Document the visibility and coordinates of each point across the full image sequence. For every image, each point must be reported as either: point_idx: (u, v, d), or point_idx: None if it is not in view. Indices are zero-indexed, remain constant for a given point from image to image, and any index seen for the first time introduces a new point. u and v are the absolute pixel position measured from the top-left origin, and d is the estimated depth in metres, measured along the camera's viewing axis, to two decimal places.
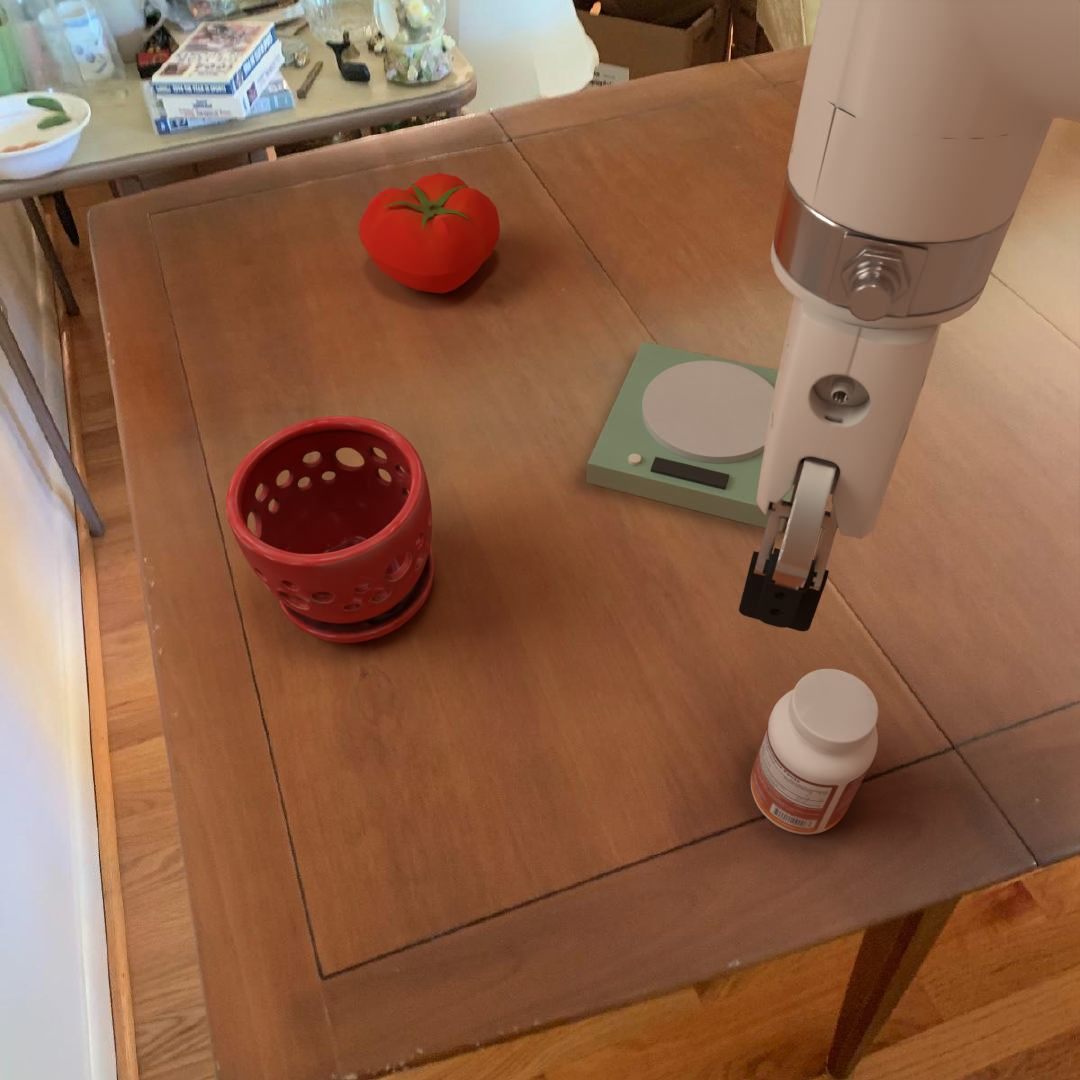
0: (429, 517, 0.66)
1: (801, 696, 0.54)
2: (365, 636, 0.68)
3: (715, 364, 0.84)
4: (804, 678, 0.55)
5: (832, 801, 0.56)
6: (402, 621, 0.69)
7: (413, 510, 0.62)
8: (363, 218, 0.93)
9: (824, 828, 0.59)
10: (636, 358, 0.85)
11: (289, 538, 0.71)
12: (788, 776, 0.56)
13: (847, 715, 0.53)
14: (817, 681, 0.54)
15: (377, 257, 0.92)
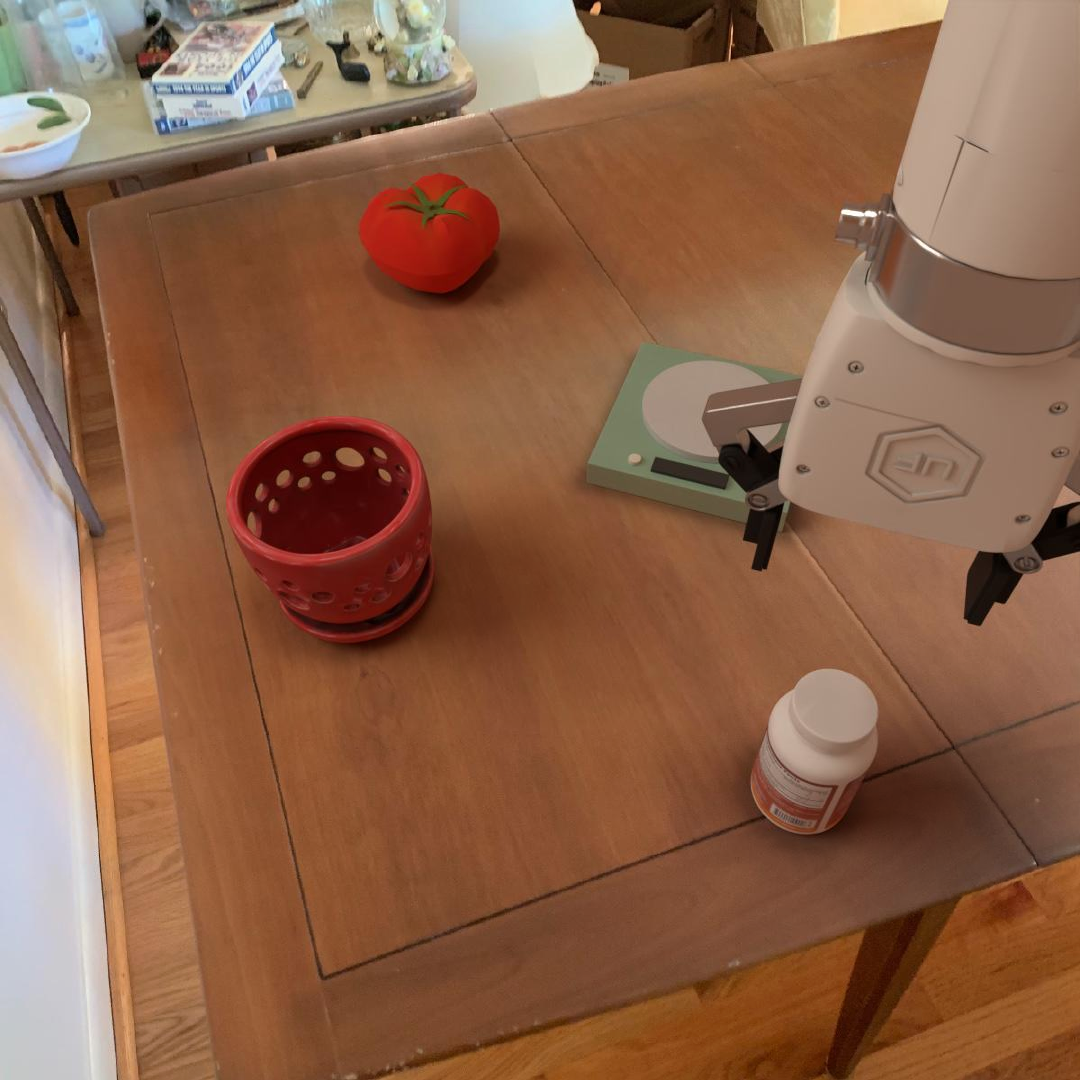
0: (429, 517, 0.66)
1: (801, 696, 0.54)
2: (365, 636, 0.68)
3: (715, 364, 0.84)
4: (804, 678, 0.55)
5: (832, 801, 0.56)
6: (402, 621, 0.69)
7: (413, 510, 0.62)
8: (363, 218, 0.93)
9: (824, 828, 0.59)
10: (636, 358, 0.85)
11: (289, 538, 0.71)
12: (788, 776, 0.56)
13: (847, 715, 0.53)
14: (817, 681, 0.54)
15: (377, 257, 0.92)
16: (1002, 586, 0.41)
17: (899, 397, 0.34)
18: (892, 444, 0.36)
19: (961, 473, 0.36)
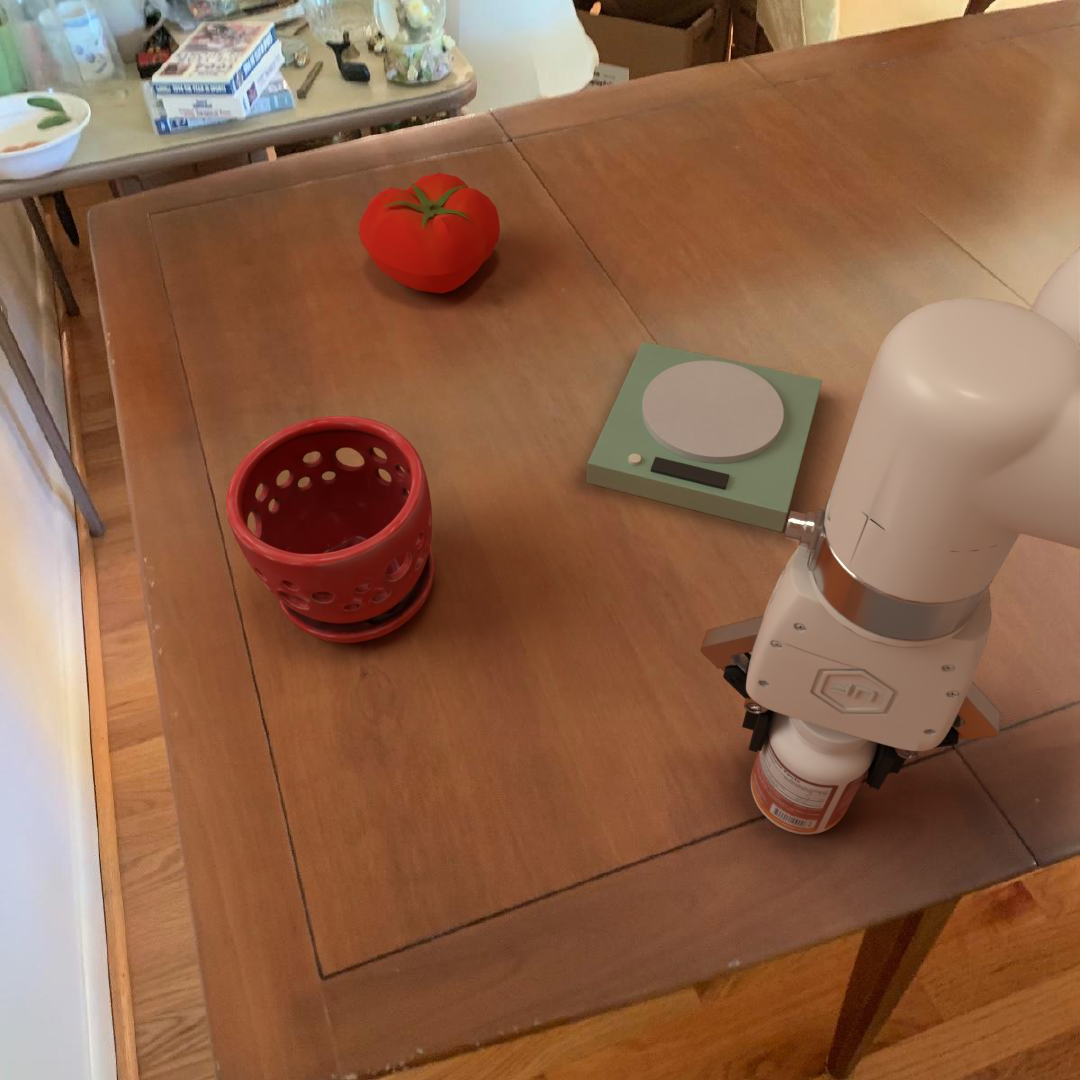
0: (429, 517, 0.66)
1: None
2: (365, 636, 0.68)
3: (715, 364, 0.84)
4: None
5: (832, 801, 0.56)
6: (402, 621, 0.69)
7: (413, 510, 0.62)
8: (363, 218, 0.93)
9: (824, 828, 0.59)
10: (636, 358, 0.85)
11: (289, 538, 0.71)
12: (788, 776, 0.56)
13: None
14: None
15: (377, 257, 0.92)
16: (891, 766, 0.53)
17: (832, 649, 0.46)
18: (829, 676, 0.47)
19: (881, 699, 0.47)
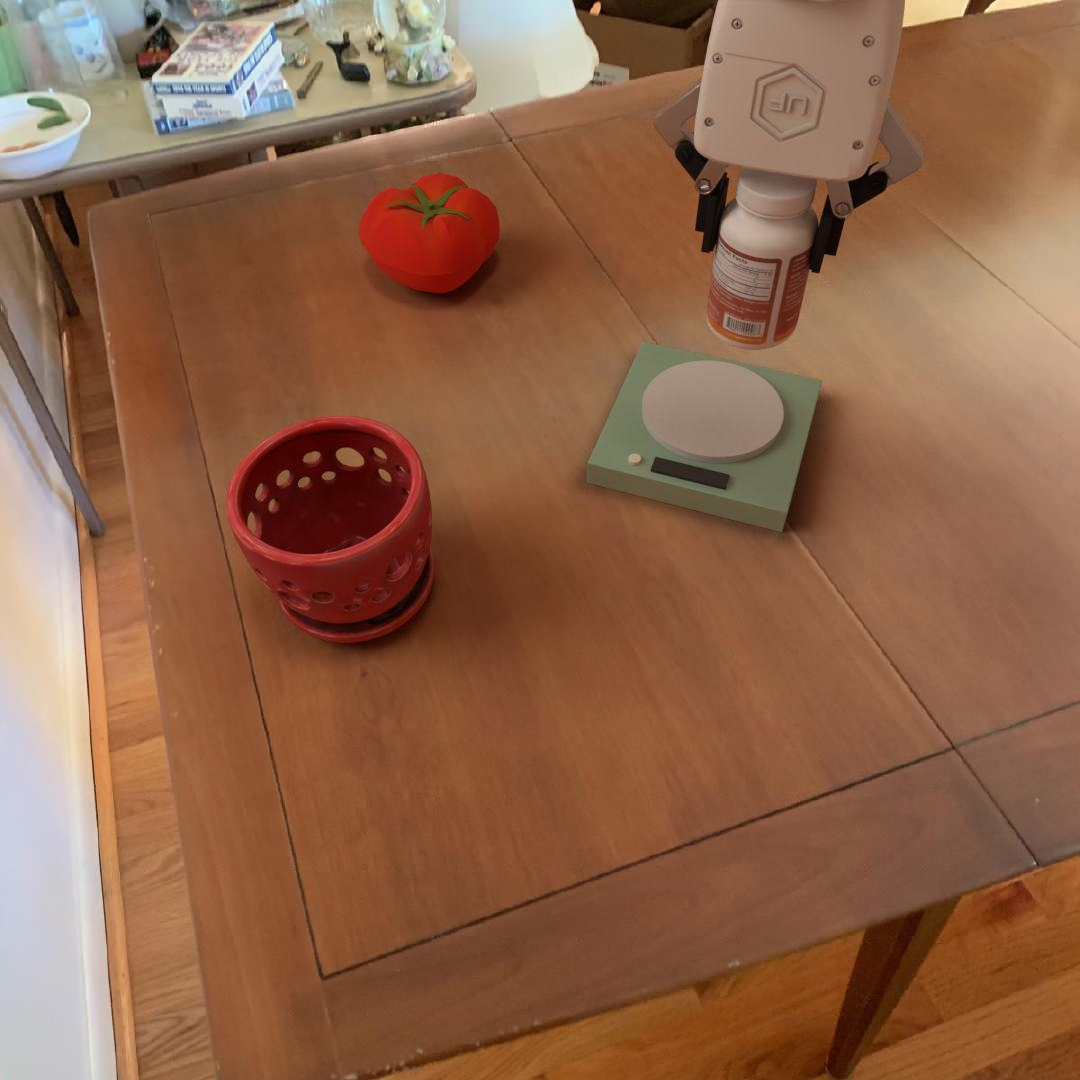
0: (429, 517, 0.66)
1: (747, 173, 0.59)
2: (365, 636, 0.68)
3: (715, 364, 0.84)
4: None
5: (778, 290, 0.61)
6: (402, 621, 0.69)
7: (413, 510, 0.62)
8: (363, 218, 0.93)
9: (773, 339, 0.64)
10: (636, 358, 0.85)
11: (289, 538, 0.71)
12: (736, 261, 0.61)
13: (788, 182, 0.58)
14: None
15: (377, 257, 0.92)
16: (828, 230, 0.58)
17: (766, 44, 0.51)
18: (765, 88, 0.52)
19: (813, 108, 0.52)
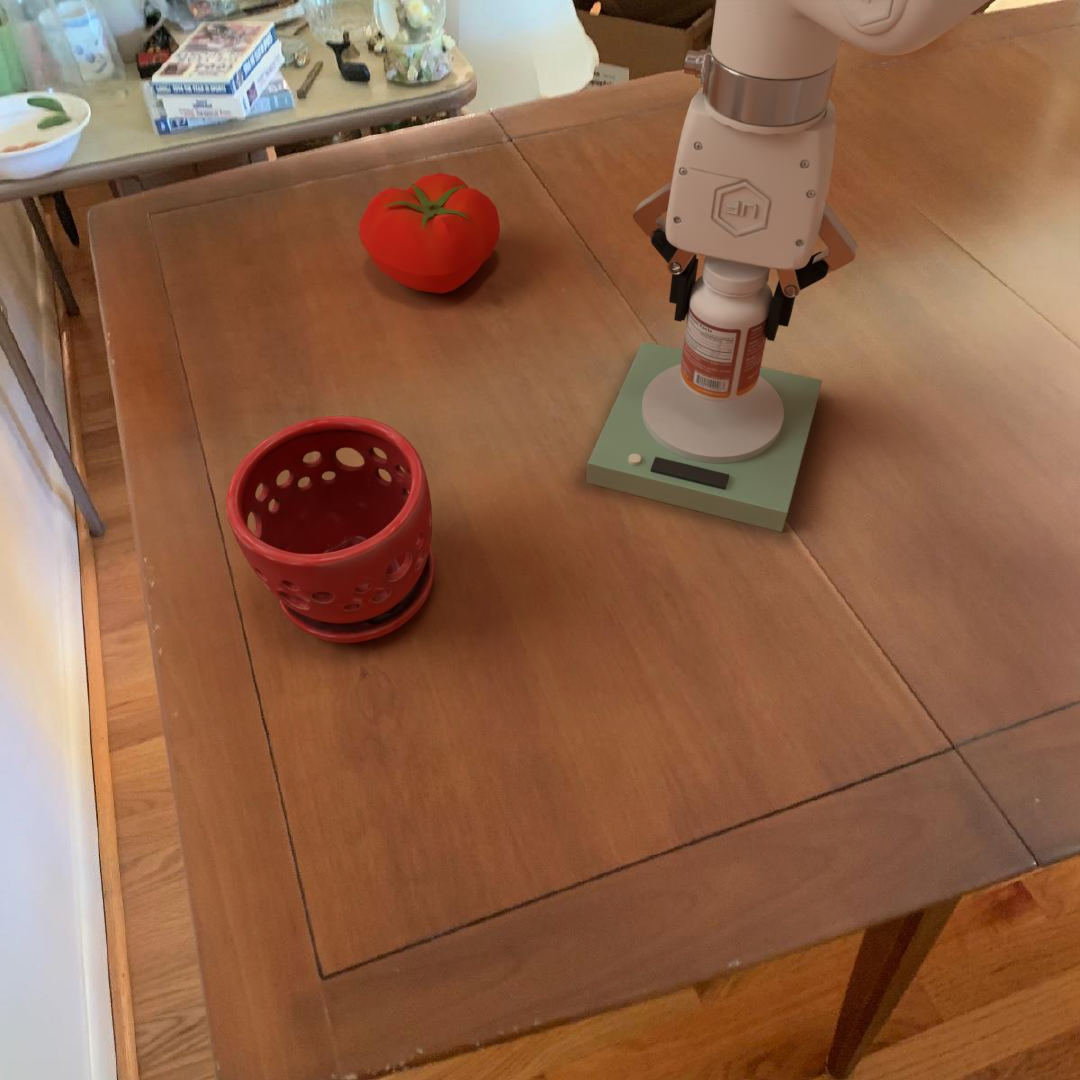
0: (429, 517, 0.66)
1: (711, 257, 0.70)
2: (365, 636, 0.68)
3: None
4: None
5: (738, 354, 0.72)
6: (402, 621, 0.69)
7: (413, 510, 0.62)
8: (363, 218, 0.93)
9: (736, 394, 0.75)
10: (636, 358, 0.85)
11: (289, 538, 0.71)
12: (703, 330, 0.71)
13: (745, 267, 0.69)
14: None
15: (377, 257, 0.92)
16: (780, 307, 0.69)
17: (722, 163, 0.61)
18: (723, 196, 0.63)
19: (762, 213, 0.63)
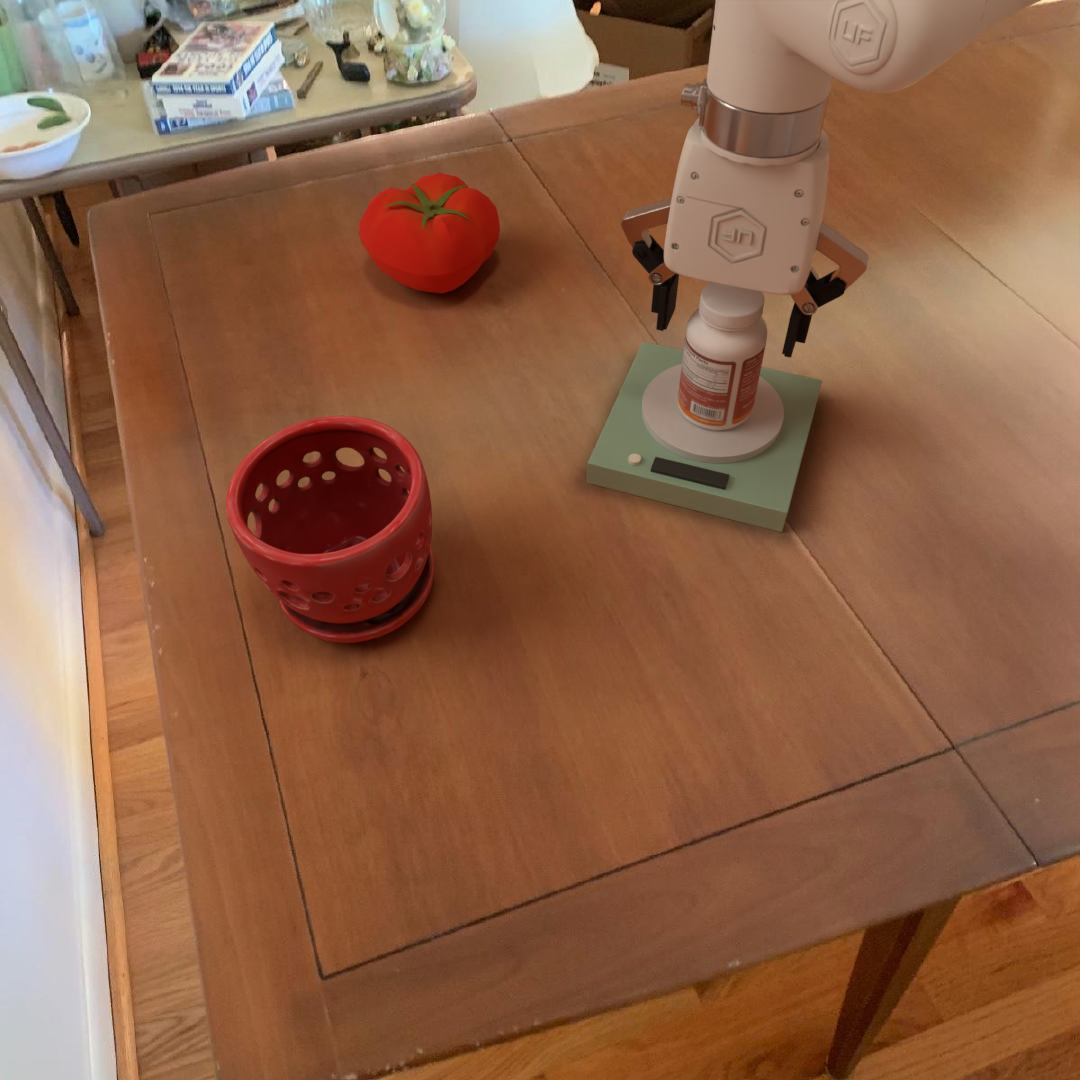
0: (429, 517, 0.66)
1: (708, 292, 0.72)
2: (365, 636, 0.68)
3: None
4: (710, 282, 0.73)
5: (734, 385, 0.74)
6: (402, 621, 0.69)
7: (413, 510, 0.62)
8: (363, 218, 0.93)
9: (731, 422, 0.78)
10: (636, 358, 0.85)
11: (289, 538, 0.71)
12: (699, 362, 0.74)
13: (740, 301, 0.71)
14: (720, 284, 0.73)
15: (377, 257, 0.92)
16: (797, 324, 0.70)
17: (718, 192, 0.63)
18: (719, 223, 0.65)
19: (757, 240, 0.65)
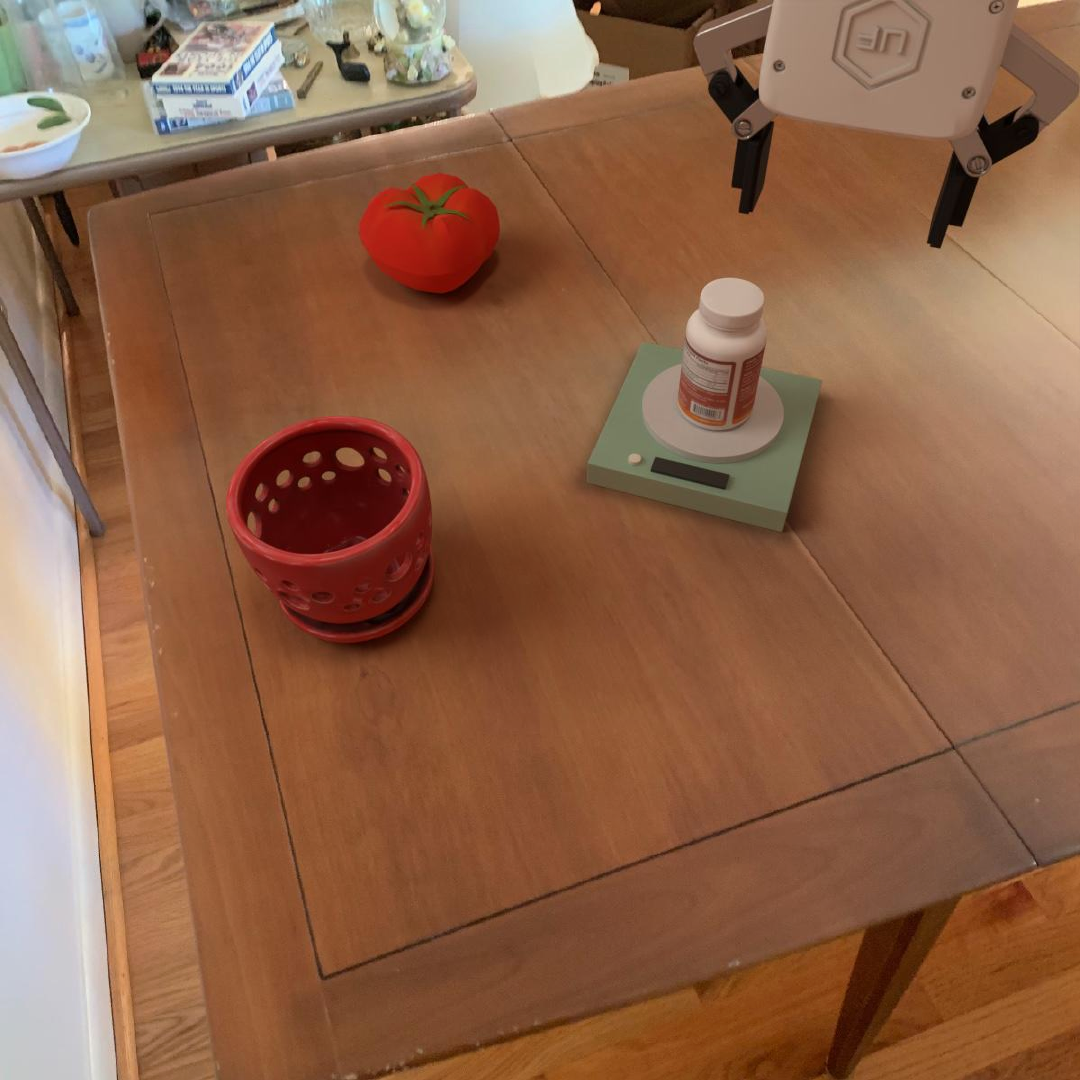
0: (429, 517, 0.66)
1: (708, 292, 0.72)
2: (365, 636, 0.68)
3: None
4: (710, 282, 0.73)
5: (734, 385, 0.74)
6: (402, 621, 0.69)
7: (413, 510, 0.62)
8: (363, 218, 0.93)
9: (731, 422, 0.78)
10: (636, 358, 0.85)
11: (289, 538, 0.71)
12: (699, 362, 0.74)
13: (740, 301, 0.71)
14: (720, 284, 0.73)
15: (377, 257, 0.92)
16: (957, 193, 0.46)
17: None
18: (853, 19, 0.41)
19: (913, 44, 0.41)
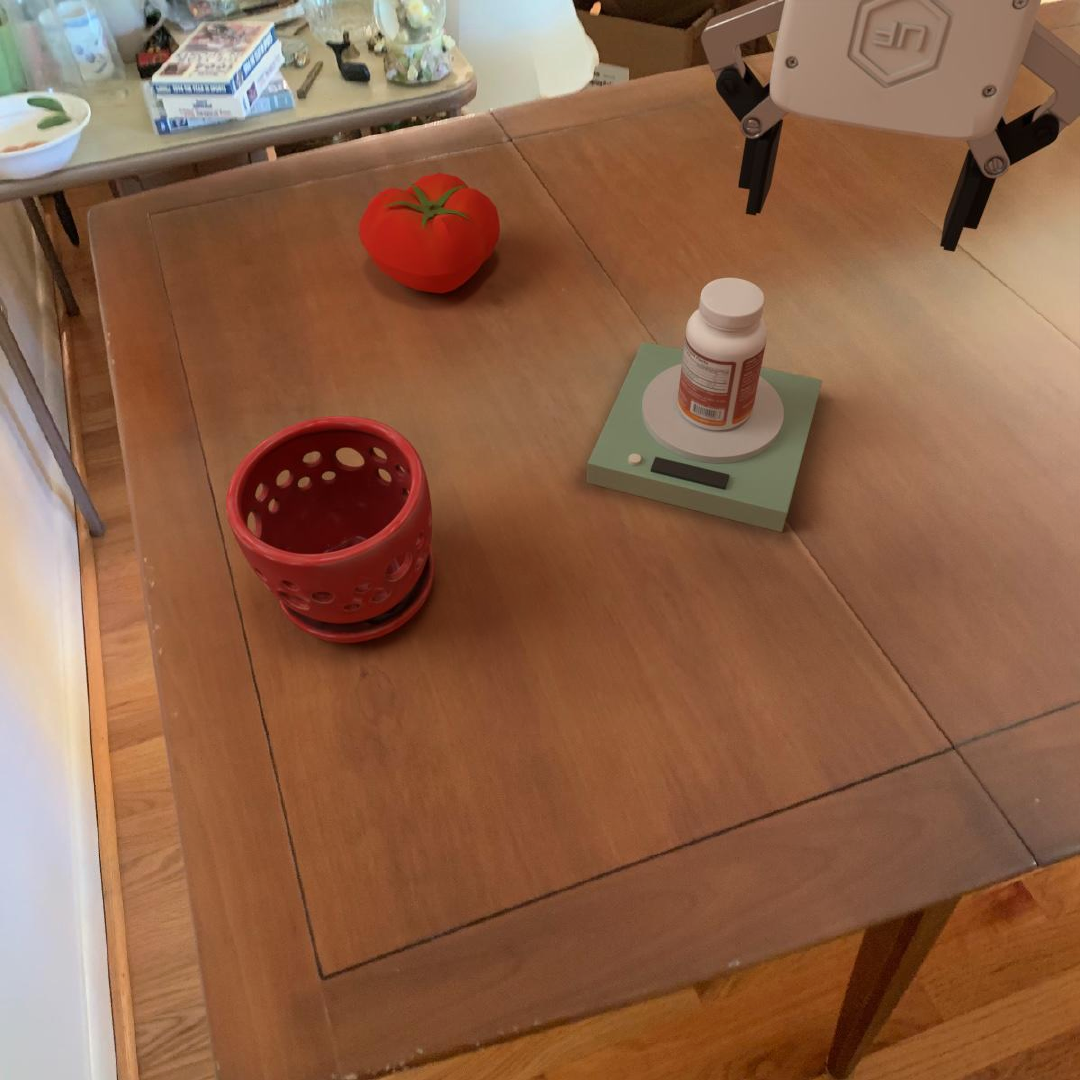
0: (429, 517, 0.66)
1: (708, 292, 0.72)
2: (365, 636, 0.68)
3: None
4: (710, 282, 0.73)
5: (734, 385, 0.74)
6: (402, 621, 0.69)
7: (413, 510, 0.62)
8: (363, 218, 0.93)
9: (731, 422, 0.78)
10: (636, 358, 0.85)
11: (289, 538, 0.71)
12: (699, 362, 0.74)
13: (740, 301, 0.71)
14: (720, 284, 0.73)
15: (377, 257, 0.92)
16: (973, 194, 0.45)
17: None
18: (871, 14, 0.40)
19: (933, 41, 0.40)
